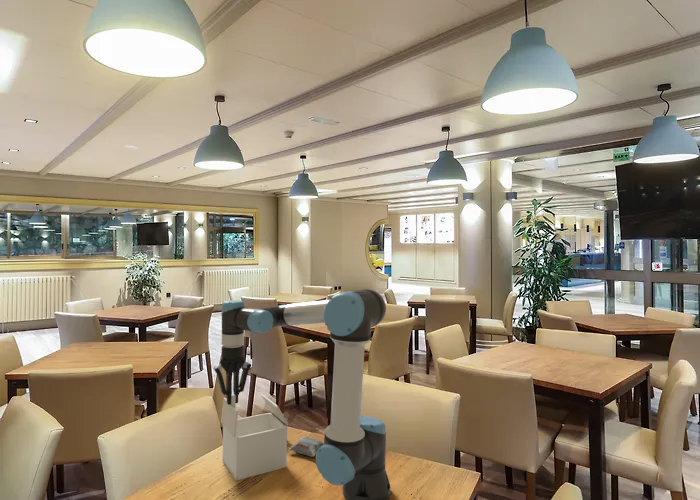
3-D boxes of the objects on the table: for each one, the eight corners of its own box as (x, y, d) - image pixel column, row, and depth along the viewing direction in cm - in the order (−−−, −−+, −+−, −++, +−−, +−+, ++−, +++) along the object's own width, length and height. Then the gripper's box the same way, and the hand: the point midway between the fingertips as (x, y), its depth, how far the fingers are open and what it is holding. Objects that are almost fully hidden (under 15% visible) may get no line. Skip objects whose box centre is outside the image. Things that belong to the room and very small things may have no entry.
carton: (286, 466, 153) (287, 427, 153) (236, 480, 144) (236, 438, 144) (269, 449, 167) (270, 412, 167) (222, 460, 157) (223, 421, 157)
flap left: (238, 410, 144) (236, 411, 144) (235, 437, 144) (233, 437, 144) (225, 397, 157) (223, 397, 157) (222, 421, 157) (220, 421, 157)
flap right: (287, 425, 154) (288, 424, 154) (276, 406, 152) (277, 405, 152) (271, 411, 167) (272, 410, 167) (260, 394, 164) (262, 393, 165)
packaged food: (314, 462, 157) (314, 448, 157) (288, 454, 163) (288, 440, 163) (327, 453, 165) (327, 439, 165) (302, 445, 171) (302, 433, 171)
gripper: (247, 341, 158) (247, 406, 158) (211, 345, 151) (210, 412, 151) (254, 345, 151) (253, 413, 151) (216, 349, 145) (216, 420, 145)
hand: (232, 412), depth 151 cm, fingers closed
